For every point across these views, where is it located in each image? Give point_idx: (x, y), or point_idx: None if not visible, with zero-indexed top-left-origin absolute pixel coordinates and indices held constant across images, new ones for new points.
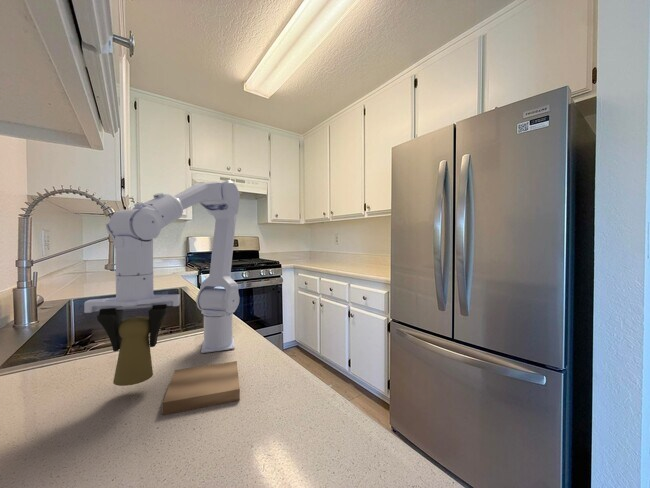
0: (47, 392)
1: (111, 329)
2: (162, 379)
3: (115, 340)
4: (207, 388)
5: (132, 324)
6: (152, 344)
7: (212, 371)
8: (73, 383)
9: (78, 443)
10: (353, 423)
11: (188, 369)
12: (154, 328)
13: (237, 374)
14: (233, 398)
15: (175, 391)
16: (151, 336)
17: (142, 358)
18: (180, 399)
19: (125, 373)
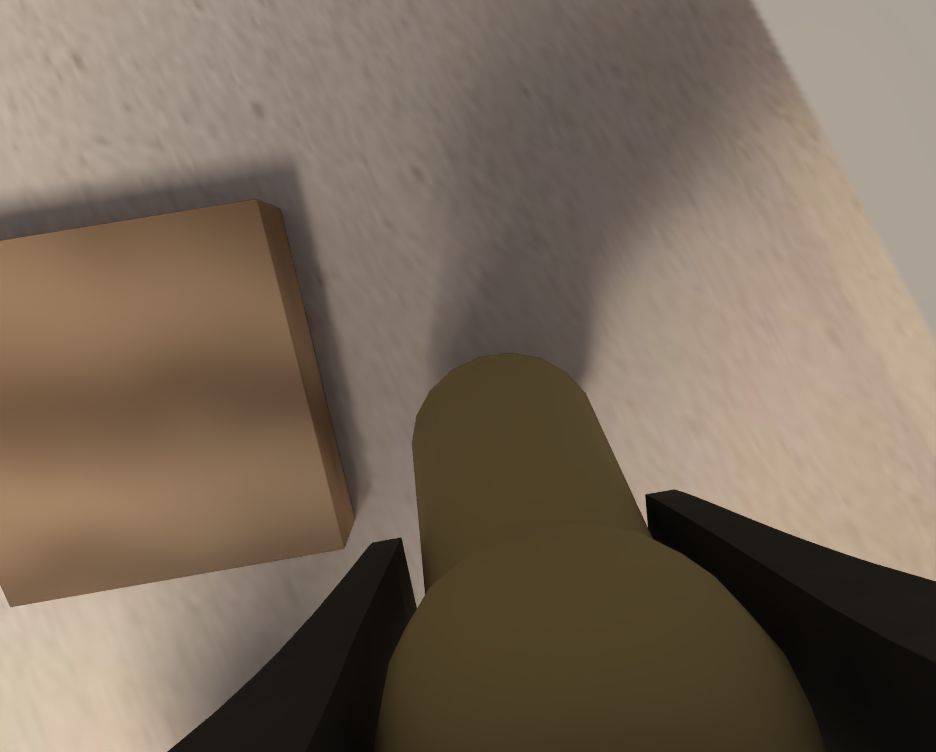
0: (873, 496)
1: (867, 597)
2: (419, 533)
3: (713, 527)
4: (61, 304)
5: (586, 669)
6: (375, 550)
7: (114, 500)
8: None
9: (547, 68)
10: None
11: (268, 543)
12: (289, 669)
13: None
14: None
15: (238, 307)
16: (359, 590)
17: (440, 452)
18: (172, 215)
19: (521, 376)
